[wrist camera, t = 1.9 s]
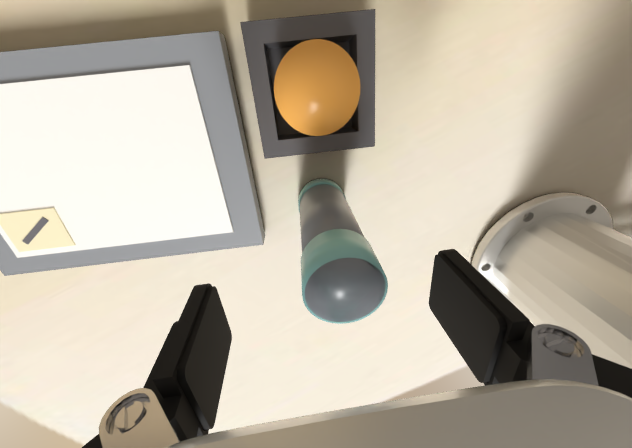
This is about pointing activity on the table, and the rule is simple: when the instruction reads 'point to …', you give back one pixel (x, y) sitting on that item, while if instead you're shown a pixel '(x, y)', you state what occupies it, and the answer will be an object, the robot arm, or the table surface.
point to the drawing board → (122, 154)
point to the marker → (336, 258)
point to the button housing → (269, 49)
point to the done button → (317, 87)
